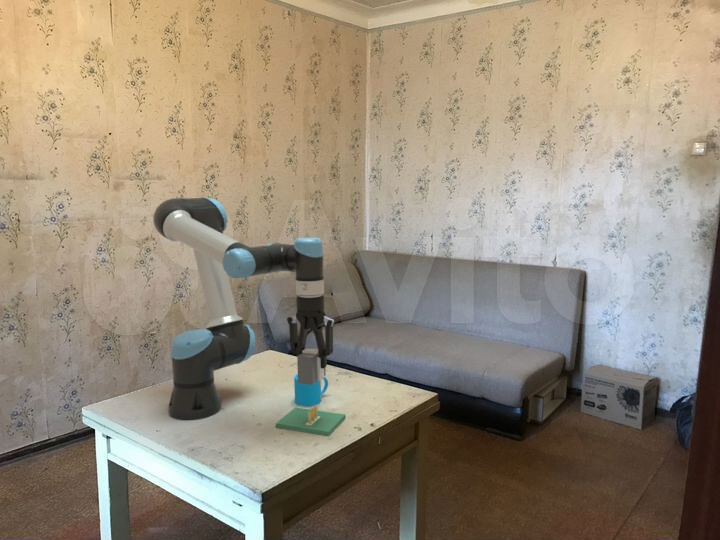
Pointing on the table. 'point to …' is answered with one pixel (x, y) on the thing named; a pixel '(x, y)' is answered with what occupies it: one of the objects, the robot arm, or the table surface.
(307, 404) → the mug
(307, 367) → the grey block with band
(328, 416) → the board
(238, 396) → the table surface
